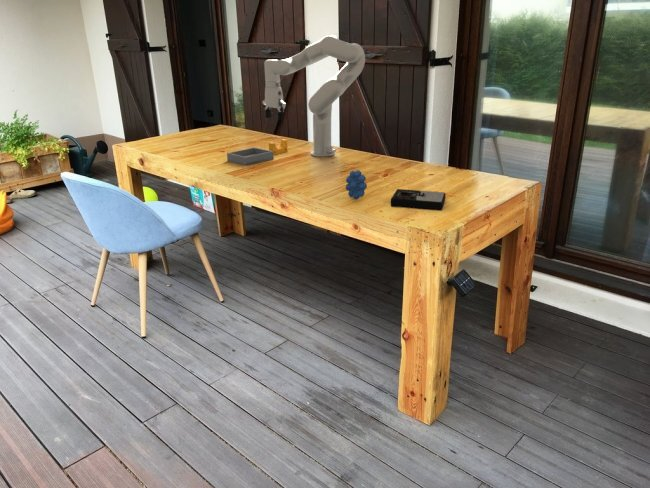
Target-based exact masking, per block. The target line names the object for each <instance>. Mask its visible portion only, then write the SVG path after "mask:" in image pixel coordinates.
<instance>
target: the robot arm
mask: <svg viewBox="0 0 650 488" xmlns="http://www.w3.org/2000/svg"><path fill="white" fill-rule="evenodd" d="M328 57H331V58H333V59H334V58H335V59H337V60H340V61H342V62H345V64H344V66H343V67H341V69H340V70H339V71H338V72H337V73H336V74H335V75H334V76H333V77H331V78H329V79H328V80H326V81H325V82H324V83H323V84H322V85H321V86H320V87H319V88H318V90H317V91H316V92H315V93H314V94H313V95H312V96H311V97H310V99H309V100H308V103H307V104H308V105H307V106H308V109H309V111H310V112H311V113H312V140H313V141H312V143H313V144H312V145H313V150H311V151H310V155H311V156H313V157H318V158H319V157H320V158H321V157H322V158H323V157H331V156H334V155H335V153H336V152H337V149H335V148H334V146H333V145H332V111H333V103H334V102H336V100H338V98H340V97H341V96H342V95H343V94H344V93H345V91H346V90H347V89H348V88H349V87H350V86H351V84H353V83H354V81H356V79H357V78H358V77H359V76H360V75H361V73H362V71H363V69H364V67H365V63H366V54H365V51H364V48H363V47H362V46H361V45H360V44H359V43H355V42H353V43H349V42H346V41H344V40H341V39H339V38H338V37H337V36H336V35H334V34H331V35H326V36H323V37H322V38H321V39H319V40H318V41H316V42H313V43H312V44H309V45H308V46H306V47H305V48H304V49H303V50H301V52H299V53H297V54H294V55H293V56H290V57H289V58H288V57H287V58H285V59H266V60H265V61H264V62H263V63H264V64H263V65H264V81H265V87H264V99H263V100H262V101H261V102H262V104H263V106H262V107H263V108H264V111H265V118H266V119H271V118H272V110H271V108H273V109H277V111H278V112H277V119H278V121H281V120H284V118H285V117H284V112H285V109H286V105H287V103H286V102H285V100H284V95H283V89H282V87H281V76H288V75H290V74H291V75H292V74H293V73H296V72H298V71H300V70H302V69H304V68H306V67H308V66H311V65H313V64H315V63H318V62H319V61H322V60H323V59H326V58H328Z"/></svg>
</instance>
